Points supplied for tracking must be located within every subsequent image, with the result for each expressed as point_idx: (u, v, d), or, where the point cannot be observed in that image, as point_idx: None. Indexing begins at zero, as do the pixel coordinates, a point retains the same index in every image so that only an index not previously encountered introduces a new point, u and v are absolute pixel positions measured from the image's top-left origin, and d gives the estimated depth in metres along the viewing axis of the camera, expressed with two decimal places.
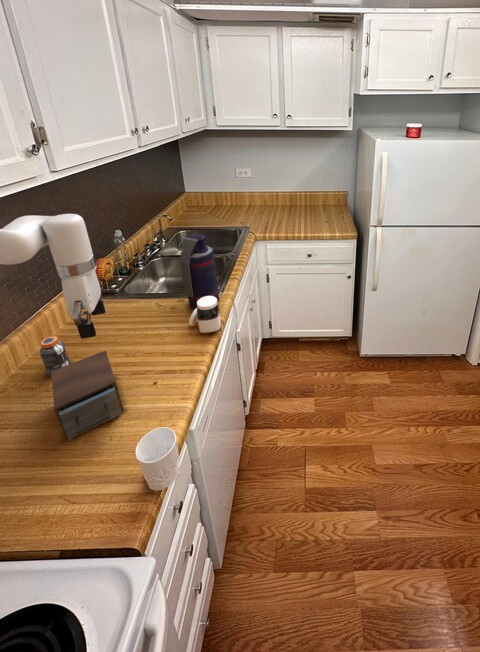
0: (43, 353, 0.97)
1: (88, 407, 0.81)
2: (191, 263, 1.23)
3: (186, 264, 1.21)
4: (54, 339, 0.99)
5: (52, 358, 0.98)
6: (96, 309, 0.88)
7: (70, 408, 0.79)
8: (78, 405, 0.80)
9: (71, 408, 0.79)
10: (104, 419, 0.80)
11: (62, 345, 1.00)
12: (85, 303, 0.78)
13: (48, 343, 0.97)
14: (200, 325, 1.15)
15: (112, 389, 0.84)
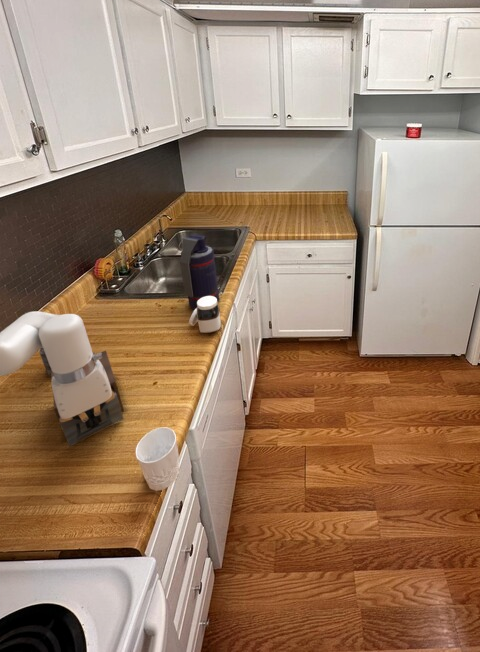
0: (43, 353, 0.97)
1: None
2: (191, 263, 1.23)
3: (186, 264, 1.21)
4: None
5: None
6: (93, 420, 0.79)
7: None
8: None
9: None
10: (105, 425, 0.78)
11: None
12: None
13: None
14: (200, 325, 1.15)
15: (114, 394, 0.83)
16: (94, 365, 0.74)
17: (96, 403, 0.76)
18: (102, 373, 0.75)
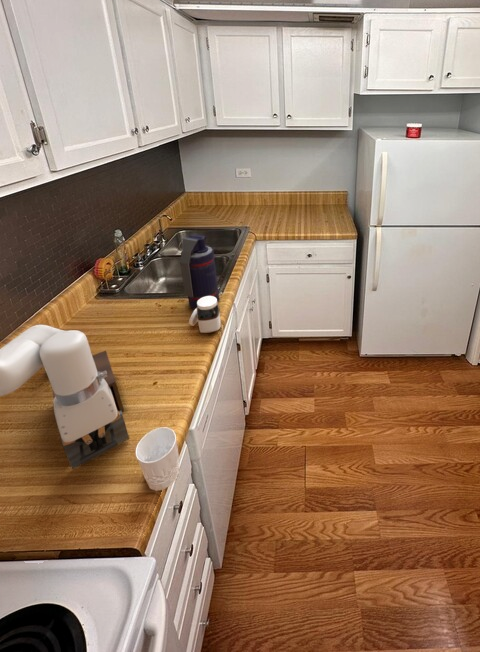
0: None
1: None
2: (191, 263, 1.23)
3: (186, 264, 1.21)
4: None
5: None
6: None
7: None
8: None
9: None
10: (111, 447, 0.73)
11: None
12: None
13: None
14: (200, 325, 1.15)
15: None
16: (99, 385, 0.69)
17: (101, 424, 0.71)
18: (107, 392, 0.70)
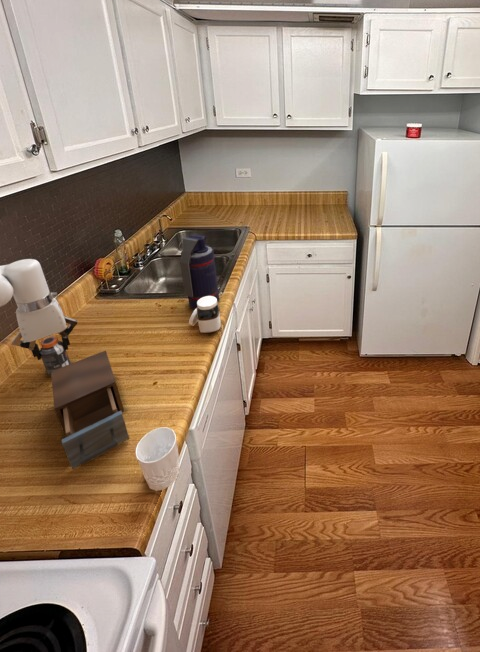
0: (43, 353, 0.97)
1: (93, 433, 0.75)
2: (191, 263, 1.23)
3: (186, 264, 1.21)
4: (54, 339, 0.99)
5: (52, 358, 0.98)
6: None
7: (74, 435, 0.73)
8: (82, 432, 0.74)
9: (75, 435, 0.73)
10: (111, 447, 0.73)
11: (62, 345, 1.00)
12: (20, 333, 0.92)
13: (48, 343, 0.97)
14: (200, 325, 1.15)
15: (119, 413, 0.78)
16: (50, 301, 0.94)
17: (53, 332, 0.97)
18: (57, 307, 0.96)
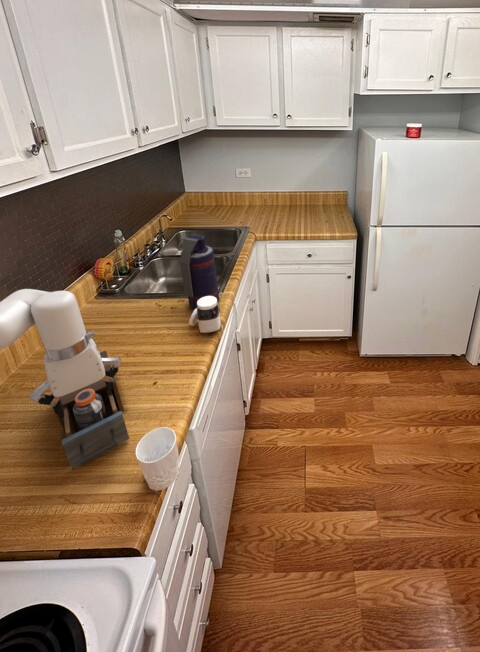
0: (78, 412, 0.76)
1: (93, 433, 0.75)
2: (191, 263, 1.23)
3: (186, 264, 1.21)
4: (91, 393, 0.78)
5: (89, 418, 0.77)
6: None
7: (74, 435, 0.73)
8: (82, 432, 0.74)
9: (75, 435, 0.73)
10: (111, 447, 0.73)
11: (100, 400, 0.80)
12: (50, 386, 0.71)
13: (84, 400, 0.77)
14: (200, 325, 1.15)
15: (119, 413, 0.78)
16: (87, 343, 0.74)
17: (89, 382, 0.76)
18: (95, 351, 0.75)
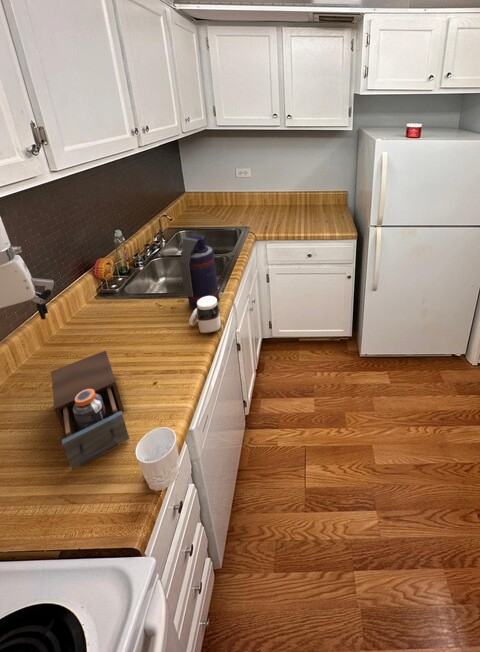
0: (78, 412, 0.76)
1: (93, 433, 0.75)
2: (191, 263, 1.23)
3: (186, 264, 1.21)
4: (91, 393, 0.78)
5: (89, 418, 0.77)
6: None
7: (74, 435, 0.73)
8: (82, 432, 0.74)
9: (75, 435, 0.73)
10: (111, 447, 0.73)
11: (100, 400, 0.80)
12: None
13: (84, 400, 0.77)
14: (200, 325, 1.15)
15: (119, 413, 0.78)
16: (11, 257, 0.70)
17: (16, 300, 0.72)
18: (21, 267, 0.72)
